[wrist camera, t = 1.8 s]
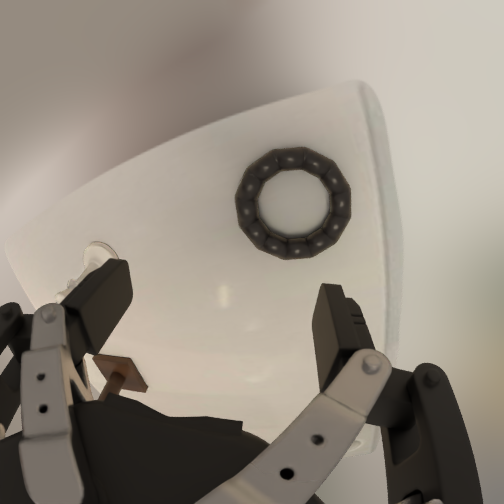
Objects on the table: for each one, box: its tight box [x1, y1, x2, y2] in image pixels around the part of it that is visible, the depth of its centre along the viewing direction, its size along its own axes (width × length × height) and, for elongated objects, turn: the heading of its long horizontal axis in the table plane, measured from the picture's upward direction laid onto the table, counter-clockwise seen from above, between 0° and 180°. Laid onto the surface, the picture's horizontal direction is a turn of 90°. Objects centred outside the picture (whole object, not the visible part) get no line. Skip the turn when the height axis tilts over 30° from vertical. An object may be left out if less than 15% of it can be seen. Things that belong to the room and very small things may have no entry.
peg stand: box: [92, 354, 148, 400], centre depth 30 cm, size 7×7×13 cm
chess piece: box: [55, 242, 118, 304], centre depth 23 cm, size 5×5×10 cm
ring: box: [235, 147, 351, 260], centre depth 22 cm, size 10×10×2 cm
